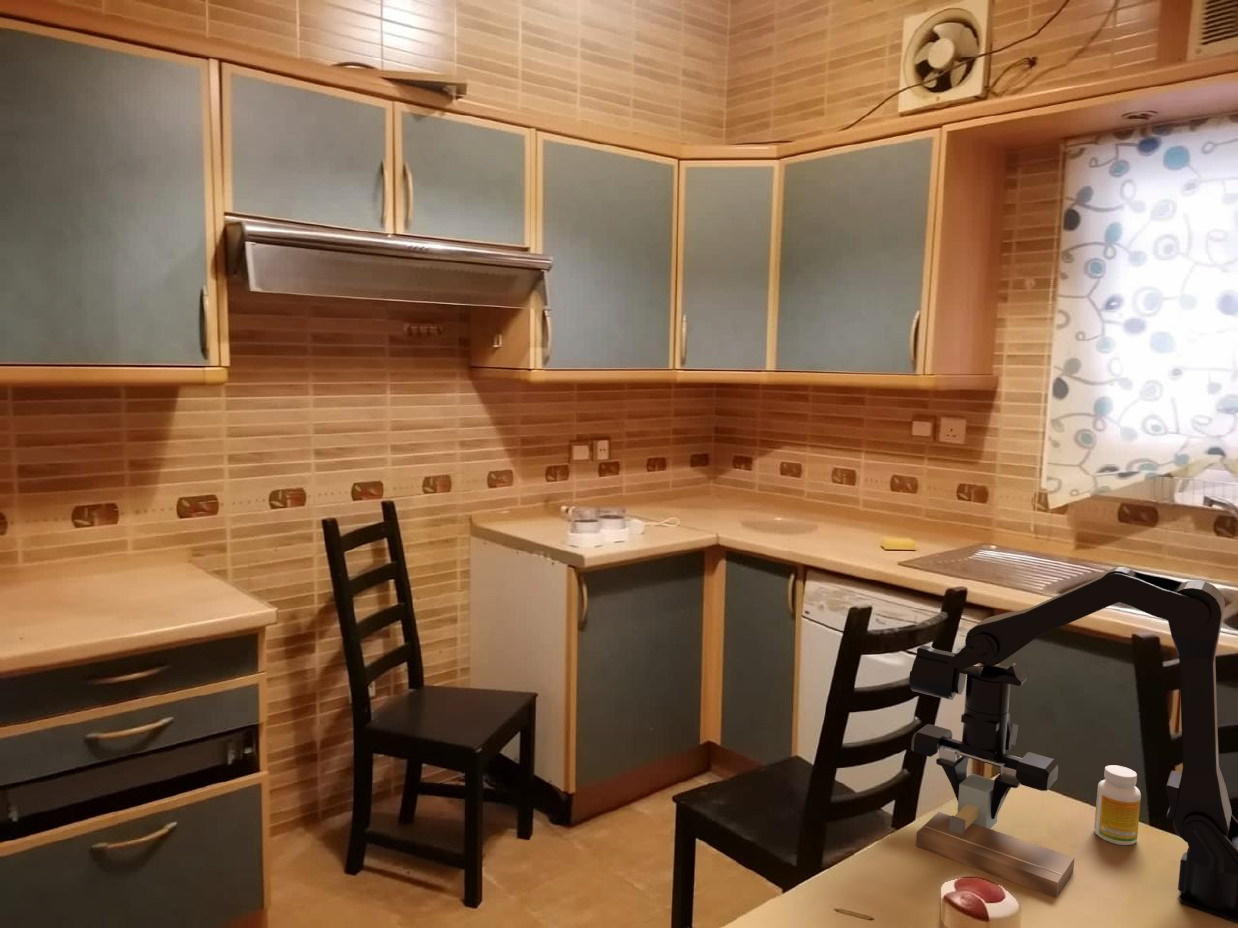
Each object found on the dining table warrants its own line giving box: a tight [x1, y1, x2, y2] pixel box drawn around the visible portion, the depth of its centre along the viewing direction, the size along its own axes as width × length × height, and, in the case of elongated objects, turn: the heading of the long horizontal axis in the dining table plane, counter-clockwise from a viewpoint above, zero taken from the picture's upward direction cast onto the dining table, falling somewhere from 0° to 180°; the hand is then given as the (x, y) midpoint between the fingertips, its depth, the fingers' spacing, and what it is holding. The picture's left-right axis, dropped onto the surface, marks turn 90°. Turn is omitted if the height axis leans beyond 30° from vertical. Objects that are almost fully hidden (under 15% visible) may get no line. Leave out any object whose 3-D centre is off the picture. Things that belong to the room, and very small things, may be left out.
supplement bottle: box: [1093, 764, 1142, 846], centre depth 127 cm, size 5×5×10 cm
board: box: [915, 811, 1075, 898], centre depth 121 cm, size 18×8×2 cm, turn 50°
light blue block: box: [949, 773, 998, 835], centre depth 126 cm, size 4×11×6 cm, turn 140°
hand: (978, 812), depth 129 cm, fingers closed on light blue block, 4 cm apart
